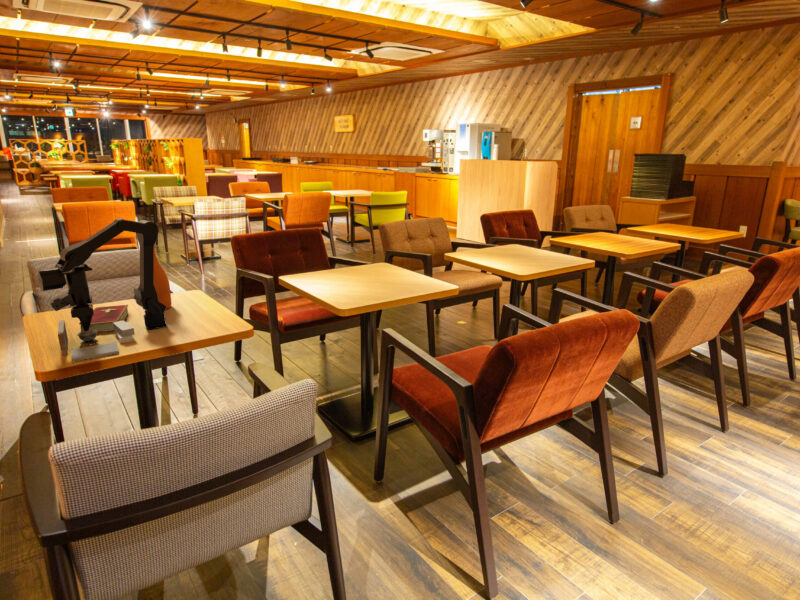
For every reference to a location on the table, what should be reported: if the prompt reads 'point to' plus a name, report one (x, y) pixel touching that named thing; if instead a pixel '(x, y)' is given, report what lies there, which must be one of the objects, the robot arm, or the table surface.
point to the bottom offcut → (124, 338)
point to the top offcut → (123, 328)
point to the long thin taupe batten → (63, 337)
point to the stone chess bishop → (87, 336)
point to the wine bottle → (161, 283)
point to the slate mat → (94, 351)
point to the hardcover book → (108, 317)
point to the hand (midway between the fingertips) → (86, 329)
